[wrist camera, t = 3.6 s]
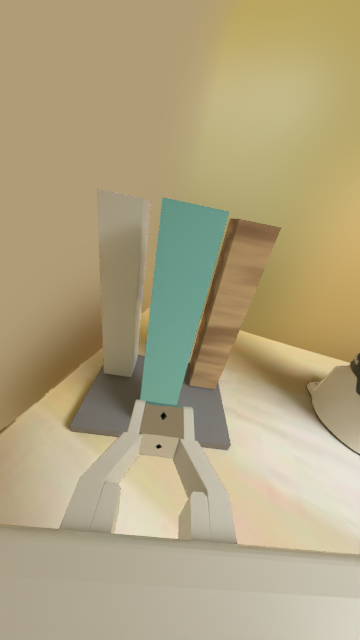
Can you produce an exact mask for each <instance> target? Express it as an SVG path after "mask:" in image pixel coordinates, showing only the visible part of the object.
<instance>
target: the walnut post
mask: <svg viewBox="0 0 360 640" xmlns="http://www.w3.org/2000/svg"><path fill="white" fill-rule="evenodd" d="M280 229H281V228H279V227H275V226H270V225H265V224H261V223H256V222H251V221H247V220H242V219H230V221H229V224H228V228H227V232H226V235H225V239H224V242H223V246H222V249H221V253H220V257H219V260H218V264H217V267H216V271H215V275H214V278H213V282H212V286H211V289H210V293H209V296H208V300H207V304H206V307H205V311H204V314H203V318H202V321H201V325H200V329H199V332H198V336H197V339H196V343H195V347H194V350H193V354H192V357H191V361H190V365H189V386H196V387H203V388H210V389H215V388H216V386H217V383H218V381H219V379H220V376H221V374H222V371H223V369H224V366H225V364H226V361H227V359H228V357H229V354H230V352H231V349H232V347H233V344H234V342H235V339H236V337H237V334H238V332H239V330H240V327H241V325H242V322H243V320H244V317H245V315H246V312H247V310H248V308H249V305H250V303H251V300H252V298H253V295H254V293H255V290H256V288H257V285H258V283H259V281H260V278H261V276H262V273H263V271H264V268H265V266H266V263H267V261H268V258H269V256H270V254H271V251H272V249H273V246H274V244H275V241H276V239H277V237H278V234H279V232H280Z"/></svg>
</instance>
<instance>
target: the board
mask: <svg viewBox="0 0 360 640" xmlns="http://www.w3.org/2000/svg"><path fill="white" fill-rule="evenodd" d="M144 361H145V356H141V355H138V357H137V361H136V364H135V367H134V370H133V373H132V376H131V377H126V376H119V375H112V374H105V373H104V364H103V366H102V368H101V370H100V372H99V373H98V375H97V377H96V379H95V381H94V383H93V384H92V386H91V388H90V390H89V392H88V393H87V395H86V397H85V399H84V401H83V403H82V404H81V406H80V408H79V410H78V412H77V413H76V415H75V417H74V419H73V421H72V423H71V424H70V428H71V431H72V432H81V433H89V434H97V435H106V436H114V437H119V436H120V435H121V434H122V433H123V432H127V430H128V427H129V423H130V419H131V415H132V412H133V408H134V404H135V401H136V399H137V400H140V397H141V388H142V379H143V370H144ZM189 365H190V363H188V366H187V369H186V373H185V377H184V380H183V384H182V388H181V391H180V395H179V399H178V402H177V405H180V406H186V407H192V408H193V416H194V435H195V441H198V443H199V444H200V446H201V447H206V448H214V449H222V450H228V448H229V447H230V445H231V444H230V439H229V434H228V429H227V425H226V420H225V415H224V410H223V405H222V400H221V395H220V390H219V385H218V383H217V386H216V388H215V389H210V388H203V387H196V386H189Z"/></svg>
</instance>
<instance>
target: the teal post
mask: <svg viewBox="0 0 360 640" xmlns="http://www.w3.org/2000/svg"><path fill="white" fill-rule="evenodd" d="M228 214H229V212H228V211H224V210H219V209H214V208H210V207H205V206H200V205H196V204H191V203H186V202H181V201H177V200H172V199H168V198H163V199H162V208H161V217H160V226H159V235H158V244H157V253H156V262H155V271H154V280H153V289H152V298H151V307H150V316H149V325H148V334H147V343H146V352H145V361H144V370H143V379H142V388H141V397H140V400H144V401H150V402H156V403H162V404H172V405H177V402H178V399H179V395H180V391H181V388H182V384H183V380H184V377H185V373H186V369H187V366H188V362H189V358H190V354H191V351H192V347H193V343H194V340H195V336H196V332H197V329H198V325H199V321H200V318H201V314H202V310H203V306H204V302H205V299H206V296H207V292H208V288H209V284H210V281H211V277H212V273H213V270H214V266H215V262H216V259H217V255H218V251H219V247H220V244H221V240H222V236H223V233H224V229H225V225H226V222H227V218H228Z"/></svg>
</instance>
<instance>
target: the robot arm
mask: <svg viewBox="0 0 360 640" xmlns="http://www.w3.org/2000/svg"><path fill="white" fill-rule="evenodd" d="M307 388H308V390H309V392H310V394H311V396H312V404H313V407H314V410H315V412H316V413H317V415H318V417H319V418H320V420H321V421H322V422H323V423H324V425H325V426H326V427H327V428H328V429H329V430H330V431H331V432H332V433H333V434H334V435H335V436H336V437H337V438H338V439H340V440H341V441H342V442H343V443H344V444H346V445H347V446H348V447H350V448H351V449H353V450H354V451H356V452H357V453H359V454H360V353H359V354H357V355H356V356H355V358H354V360H353V361H352V362H351V363H350V365H348V366H336V367H335V368H333V370H332V371H331V372H330V373H329V374H328V375H327V376H326V377H325V378H324V379H323V380H322V381H321V382H310V383H309V384H308V385H307ZM139 455H148V456H158V457H164V458H171V459H173V461H174V464H175V466H176V469H177V471H178V474H179V476H180V479H181V482H182V484H183V487H184V489H185V492H186V494H187V497H188V501H187V503H186V504H185V506H184V508H183V510H182V512H181V513H180V515H179V532H178V539H171V538H159V537H147V536H135V535H123V534H114V531H115V526H116V521H117V517H118V512H119V502H120V490H121V488H120V486H119V483H120V482H121V480H122V479H123V477H124V476H125V475H126V473H127V472H128V470H129V469H130V468H131V466H132V465H133V464H134V462H135V461H136V459H137V458H138V457H139ZM0 640H360V554H349V553H337V552H325V551H313V550H301V549H290V548H278V547H266V546H254V545H242V544H237V540H236V534H235V527H234V521H233V515H232V509H231V503H230V497H229V493H228V492H227V490H226V488H225V487H224V485H223V483H222V482H221V480H220V478H219V476H218V475H217V473H216V471H215V470H214V468H213V466H212V465H211V463H210V461H209V459H208V458H207V456H206V454H205V453H204V451H203V449H202V448H201V446H200V444H199V443H198V441H195V435H194V416H193V408H192V407H186V406H180V405H172V404H162V403H156V402H150V401H144V400H137V399H136V401H135V404H134V408H133V412H132V415H131V419H130V423H129V427H128V430H127V432H123V433H122V434H121V435H120V436H119V438H118V439H117V440H116V441H115V442H114V443H113V444H112V445H111V446H110V447H109V448H108V449H107V450H106V451H105V452H104V453H103V454H102V455H101V456H100V457H99V458H98V459H97V461H96V462H95V463H94V464H93V465H92V466H91V467H90V468H89V469H88V470H87V471H86V472H85V473H84V474H83V475H82V476H81V477H80V479H79V481H78V484H77V486H76V489H75V491H74V493H73V496H72V498H71V501H70V503H69V506H68V508H67V511H66V513H65V516H64V518H63V520H62V523H61V525H60V528H59V529H52V528H40V527H28V526H16V525H4V524H0Z"/></svg>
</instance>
